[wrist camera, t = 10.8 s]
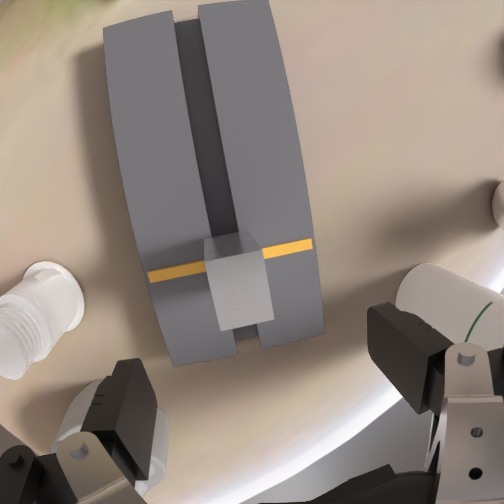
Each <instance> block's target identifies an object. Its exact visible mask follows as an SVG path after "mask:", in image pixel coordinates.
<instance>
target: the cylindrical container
mask: <svg viewBox="0 0 504 504" xmlns="http://www.w3.org/2000/svg"><path fill="white" fill-rule="evenodd" d="M396 308H398V309H399V310H400V311H406V312H409V313H412V314H415V315H417V316H418V317H420V318H421V319H423V320H424V321H425V323H428V324H429V325H431V326H432V328H435V329H436V330H437V331H439V332H440V333H441V334H443V335H444V336H445V337H447V338H448V339H449V340H451V341H452V342H453V343H454V344H457V343H462V342H470V343H475V344H477V345H480V346H481V347H483V348H484V349H485V350H486V351H490V350H495V349H498V348H502V347H503V345H504V296H503V295H501V294H499V293H497V292H495V291H493V290H491V289H489V288H487V287H485V286H482V285H480V284H478V283H476V282H474V281H472V280H470V279H467V278H465V277H463V276H461V275H459V274H457V273H454V272H452V271H450V270H448V269H446V268H443V267H441V266H439V265H437V264H434V263H431V262H426V263H421V264H419V265H417V266H416V267H414V268H413V269H411V270H410V271H409V272H408V273H407V275H406V276H405V277H404V279H403V280H402V282H401V284H400V286H399V289H398V292H397V296H396Z"/></svg>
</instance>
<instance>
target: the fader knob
mask: <svg viewBox="0 0 504 504" xmlns="http://www.w3.org/2000/svg"><path fill="white" fill-rule="evenodd" d="M204 263H205V268H206V272H207V276H208V281H209V285H210V289H211V293H212V298H213V302H214V306H215V310H216V314H217V318H218V322H219V326H220V330H221V331H225V330H229V329H234V328H239V327H243V326H248V325H252V324H257V323H261V322H265V321H270V320H274V314H273V308H272V302H271V296H270V290H269V284H268V279H267V273H266V267H265V261H264V256H263V250H262V248H261V247H260V246H259V245H258V243H257V242H256V241H255V239H254V238H253V237H252V236H251V234H250V233H249V232H248V231H247V230H246V231H241V232H236V233H231V234H226V235H221V236H216V237H212V238H207V239H204Z"/></svg>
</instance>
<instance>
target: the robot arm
mask: <svg viewBox="0 0 504 504" xmlns="http://www.w3.org/2000/svg"><path fill="white" fill-rule="evenodd" d="M367 336H368V351H369V354H370V357H371V359H372V360H373V362H374V363H375V364H376V365H377V366H378V368H379V369H380V370H381V371H382V372H383V373H384V375H385V376H386V377H387V378H388V379H389V381H390V382H391V383H392V384H393V385H394V386H395V388H396V389H397V390H398V391H399V392H400V394H401V395H402V396H403V397H404V398H405V400H406V401H407V402H408V403H409V404H410V406H411V407H412V408H413V409H414V410H415V412H416V413H417V414H418V415H419V414H421V413H424V412H426V411H428V410H430V409H431V410H432V411H433V416H432V421H431V429H430V437H429V443H428V450H427V456H426V461H425V466H424V470H423V471H406V472H399V473H394V471H393V469H392V468H391V466H390V465H389V464H387V465H385V466H383V467H380V468H378V469H375V470H373V471H370V472H368V473H365V474H363V475H360V476H357V477H354V478H351V479H349V480H348V481H346V482H344V483H342V484H341V485H339V486H337V487H336V488H334V489H332V490H330V491H328V492H327V493H325V494H323V495H321V496H319V497H317V498H315V499H313V500H311V501H306V502H289V503H259V504H504V345H503V347H502V348H498V349H495V350H490V351H486V350H485V349H484V348H483V347H481V346H480V345H477V344H475V343H470V342H462V343H457V344H454V343H453V342H452V341H451V340H449V339H448V338H447V337H445V336H444V335H443V334H441V333H440V332H439V331H437V330H436V329H435V328H432V326H431V325H429V324H428V323H425V321H424V320H423V319H421V318H420V317H418V316H417V315H415V314H412V313H409V312H406V311H400V310H399V309H398V308H396V307H395V306H394V305H393V304H391V303H390V302H386V303H383V304H379V305H376V306H373V307H370V308H369V309H368V312H367ZM156 415H157V400H156V396H155V393H154V390H153V388H152V386H151V383H150V381H149V379H148V376H147V374H146V371H145V369H144V366H143V364H142V362H141V360H140V359H139V358H134V359H127V360H120V361H117V363H116V366H115V368H114V371H113V373H112V376H107V377H106V378H105V379H104V380H103V381H102V382H101V383H100V384H99V385H98V387H97V389H96V392H95V394H94V397H93V399H92V401H91V405H90V406H89V409H88V411H87V414H86V416H85V419H84V422H83V424H82V427H81V429H80V432H77V433H73V434H71V435H69V436H67V437H66V438H65V439H63V440H62V441H61V443H60V444H59V446H58V448H57V451H56V453H52V454H48V455H43V456H38V457H37V456H36V455H35V454H34V452H33V451H32V450H31V449H30V448H29V447H27V446H24V445H17V446H14V447H11V448H10V449H8V450H6V451H5V452H4V453H3V454H2V456H1V457H0V504H147V503H146V502H145V501H144V499H143V498H142V497H141V496H140V495H139V493H138V492H137V491H136V490H135V482H136V481H145V480H148V478H149V469H150V460H151V452H152V444H153V436H154V429H155V422H156Z"/></svg>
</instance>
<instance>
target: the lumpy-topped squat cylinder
mask: <svg viewBox="0 0 504 504" xmlns="http://www.w3.org/2000/svg"><path fill="white" fill-rule="evenodd" d="M103 380H104V379H99V380H95V381H93V382H91V383H90V384H89V385H87V386H86V387H85V388H84V389H83V390H82V391H81V392H80V393H79V394H78V395H77V396H76V397H75V398H74V400H73V401H72V403H71V404H70V406H69V408H68V410H67V412H66V415H65V417H64V419H63V421H62V423H61V425H60V427H59V430H58V432H57V434H56V436H55V438H54V441H53V443H52V445H51V448H50V454H52V453H56V451H57V448H58V446H59V444H60V443H61V441H62V440H63V439H65V438H66V437H67V436H69V435H71V434H73V433H77V432H80V429H81V427H82V424H83V422H84V419H85V416H86V414H87V411H88V409H89V406H90V405H91V401H92V399H93V397H94V394H95V392H96V389H97V387H98V385H99V384H100V383H101V382H102V381H103ZM169 428H170V421H169V418H168V416H167V414H166V413H165V412H164V411H163V410H161V409H160V408H158V407H157V415H156V422H155V429H154V436H153V444H152V452H151V460H150V469H149V478H148V480H145V481H136V482H135V490H136V491H137V492H138V493H139V495H140V496H141V497H143V496H144V494H145V493H146V492H147V491H149V490H151V489H152V488H153V487H154V486H156V485H157V484H159V483H160V482H161V481H162V480H163V479H164V477H165V475H166V465H167V453H168V440H169Z"/></svg>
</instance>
